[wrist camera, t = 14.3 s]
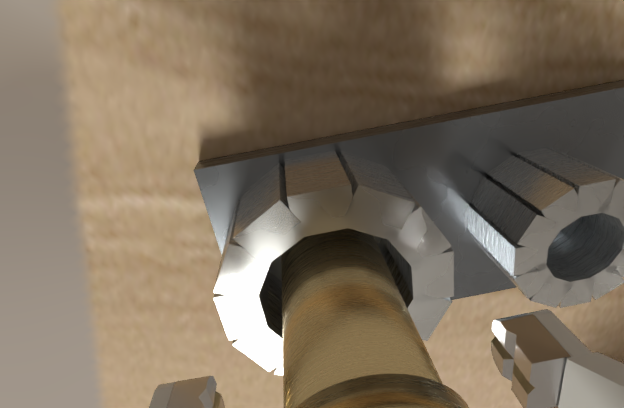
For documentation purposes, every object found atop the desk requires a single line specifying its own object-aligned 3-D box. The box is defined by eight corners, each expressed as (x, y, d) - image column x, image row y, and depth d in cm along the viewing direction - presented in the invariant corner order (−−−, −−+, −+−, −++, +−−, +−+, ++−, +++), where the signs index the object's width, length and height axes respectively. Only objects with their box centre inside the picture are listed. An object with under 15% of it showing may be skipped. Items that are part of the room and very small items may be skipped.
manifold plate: (626, 79, 15) (751, 97, 11) (592, 258, 19) (675, 319, 15) (198, 161, 15) (170, 209, 11) (251, 324, 19) (244, 404, 15)
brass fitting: (373, 187, 15) (509, 410, 6) (382, 277, 17) (498, 544, 8) (263, 208, 15) (242, 461, 6) (285, 295, 17) (294, 584, 8)
